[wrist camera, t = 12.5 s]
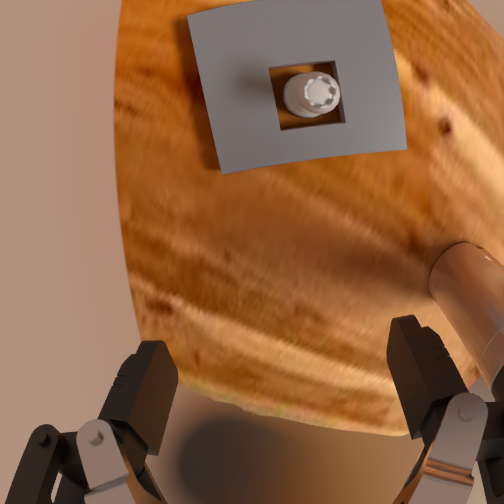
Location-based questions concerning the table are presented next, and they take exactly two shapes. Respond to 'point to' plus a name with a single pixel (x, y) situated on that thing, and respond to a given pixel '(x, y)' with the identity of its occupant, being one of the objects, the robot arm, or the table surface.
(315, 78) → the rook chess piece
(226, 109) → the socket dock
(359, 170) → the table surface
